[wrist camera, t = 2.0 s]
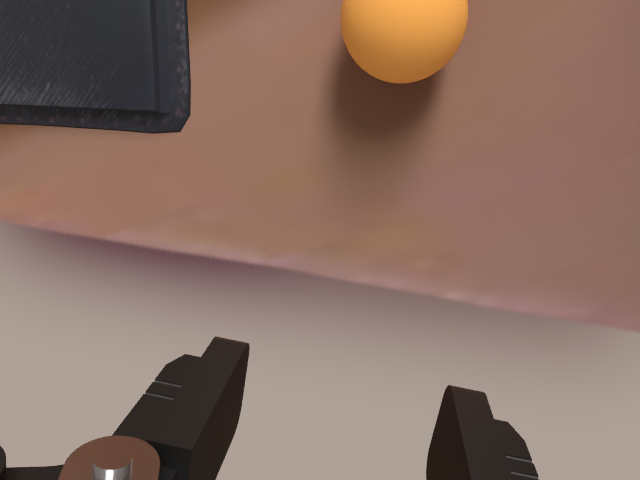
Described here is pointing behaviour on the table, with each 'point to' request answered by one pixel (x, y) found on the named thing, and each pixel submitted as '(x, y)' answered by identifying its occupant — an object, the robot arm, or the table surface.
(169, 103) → the wallet
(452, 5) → the ball
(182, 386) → the robot arm
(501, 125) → the table surface
